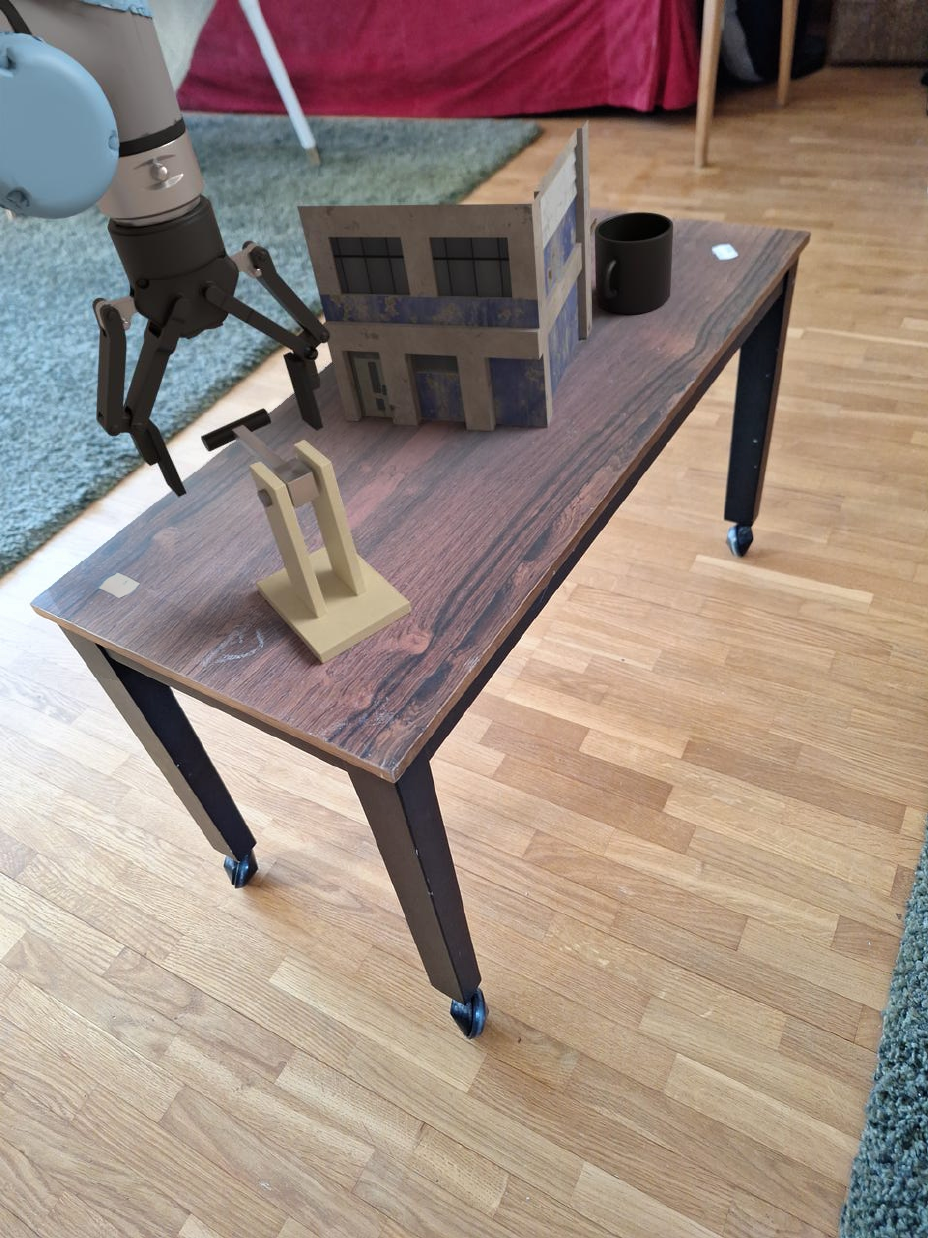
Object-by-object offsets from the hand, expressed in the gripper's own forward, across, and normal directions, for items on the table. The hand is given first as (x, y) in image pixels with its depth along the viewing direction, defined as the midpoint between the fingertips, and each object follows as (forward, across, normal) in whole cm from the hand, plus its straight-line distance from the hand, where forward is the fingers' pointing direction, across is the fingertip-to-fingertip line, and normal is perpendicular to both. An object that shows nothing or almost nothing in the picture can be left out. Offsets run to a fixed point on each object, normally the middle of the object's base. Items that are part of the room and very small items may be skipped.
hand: (247, 455), depth 76 cm
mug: (+11, +57, +11) cm, 59 cm away
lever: (-1, 0, -6) cm, 6 cm away
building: (+11, +33, +12) cm, 36 cm away
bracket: (+10, 0, -11) cm, 15 cm away
